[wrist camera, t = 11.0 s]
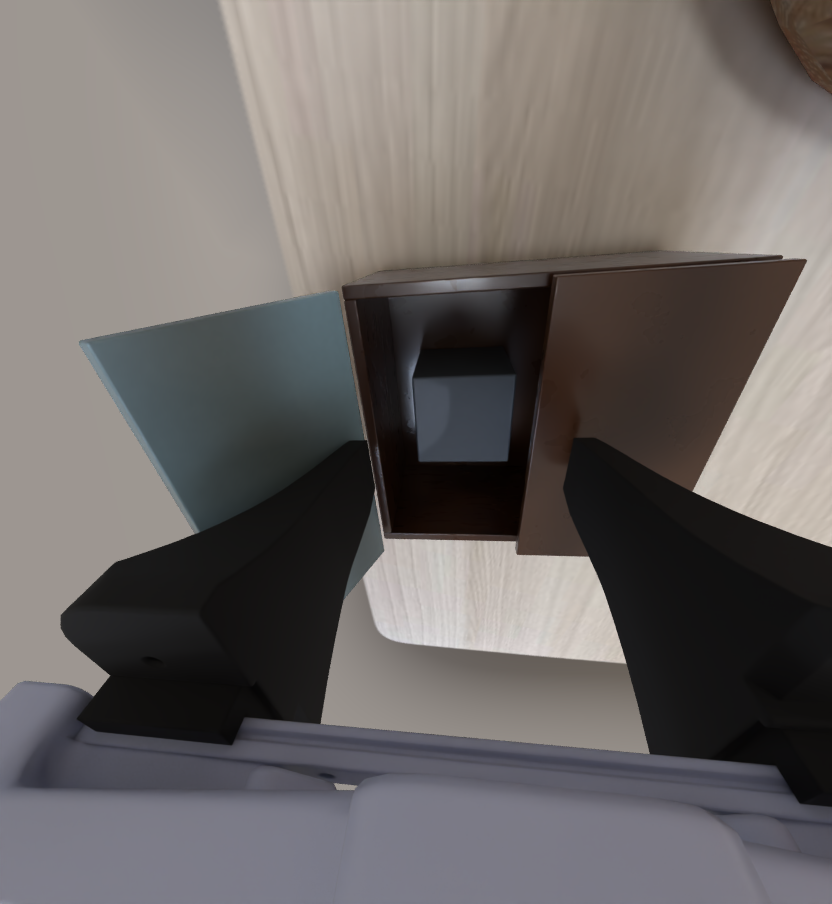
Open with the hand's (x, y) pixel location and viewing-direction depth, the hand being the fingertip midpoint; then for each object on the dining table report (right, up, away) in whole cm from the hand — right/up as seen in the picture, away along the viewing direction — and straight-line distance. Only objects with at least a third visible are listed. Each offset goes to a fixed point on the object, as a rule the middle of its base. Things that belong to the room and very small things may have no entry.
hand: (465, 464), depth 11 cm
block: (+1, +4, +6) cm, 7 cm away
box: (+3, +4, +6) cm, 8 cm away
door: (-5, -1, -1) cm, 5 cm away
